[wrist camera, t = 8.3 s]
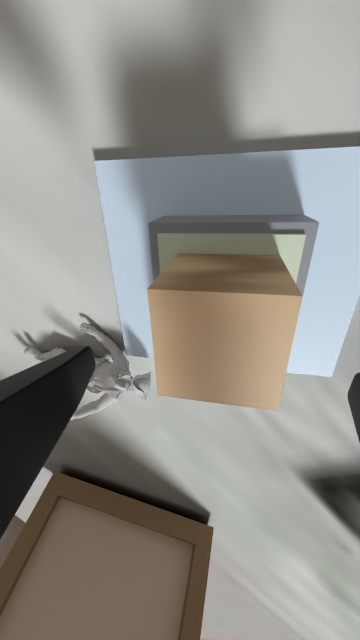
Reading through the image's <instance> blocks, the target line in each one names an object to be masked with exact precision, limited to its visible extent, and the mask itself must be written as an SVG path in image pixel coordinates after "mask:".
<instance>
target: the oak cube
mask: <svg viewBox="0 0 360 640" xmlns="http://www.w3.org/2000/svg"><path fill="white" fill-rule="evenodd" d="M147 293H148V303H149V312H150V322H151V332H152V341H153V351H154V361H155V370H156V380H157V390H158V395H160V396H167V397H175V398H182V399H190V400H198V401H205V402H213V403H221V404H228V405H236V406H243V407H251V408H259V409H266V410H274V411H278V407H279V403H280V398H281V394H282V389H283V384H284V380H285V375H286V371H287V366H288V362H289V357H290V352H291V348H292V343H293V339H294V334H295V329H296V325H297V320H298V316H299V311H300V306H301V302H302V297H303V296H302V294H301V292H300V290H299V289H298V287H297V285H296V283H295V281H294V280H293V278H292V276H291V274H290V272H289V271H288V269H287V267H286V265H285V263H284V262H283V260H282V258H281V256H280V255H244V254H182V253H178V254H177V255H176V256H175V257H174V258H173V259H172V261H171V262H170V263H169V264H168V265H167V266H166V268H165V269H164V270H163V271H162V272H161V273H160V275H159V276H158V277H157V278H156V279H155V280H154V282H153V283H152V284H151V285H150V286H149V287H148V289H147Z"/></svg>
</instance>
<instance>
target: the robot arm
mask: <svg viewBox="0 0 360 640" xmlns="http://www.w3.org/2000/svg"><path fill="white" fill-rule="evenodd" d="M95 367H96V363H95V358H94V354H93V350H92V348H91V347H90V346H85V345H79V346H77V347H75V348H72V349H70V350H68V351H66V352H63V353H61V354H59V355H57V356H55V357H52V358H50V359H48V360H46V361H43V362H41V363H39V364H37V365H34V366H32V367H30V368H28V369H25V370H23V371H21V372H19V373H17V374H14V375H12V376H10V377H8V378H5V379H3V380H1V381H0V539H1V537H2V535H3V534H4V532H5V530H6V529H7V527H8V525H9V523H10V521H11V520H12V518H13V517H14V515H15V513H16V511H17V510H18V508H19V506H20V505H21V503H22V501H23V499H24V498H25V496H26V494H27V493H28V491H29V489H30V488H31V486H32V484H33V482H34V481H35V479H36V477H37V476H38V474H39V472H40V470H41V469H42V467H43V465H44V464H45V462H46V460H47V458H48V457H49V455H50V453H51V452H52V450H53V448H54V446H55V445H56V443H57V441H58V440H59V438H60V436H61V434H62V433H63V431H64V429H65V428H66V426H67V424H68V423H69V421H70V419H71V417H72V416H73V414H74V412H75V411H76V409H77V407H78V405H79V403H80V401H81V399H82V397H83V395H84V393H85V390H86V388H87V386H88V384H89V382H90V379H91V377H92V375H93V373H94V371H95ZM348 401H349V405H350V409H351V412H352V416H353V420H354V424H355V427H356V431H357V435H358V438H359V442H360V373H357V374H356V375H355V376H354V378H353V381H352V383H351V386H350V388H349V391H348Z"/></svg>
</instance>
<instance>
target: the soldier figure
mask: <svg viewBox="0 0 360 640" xmlns="http://www.w3.org/2000/svg"><path fill="white" fill-rule="evenodd" d="M83 324H85V325H83ZM83 324H81V325H82V326H84V327H86V328H84V327H82V326H80V328H82V329H81V331H83V332H86V333H88V334H90V335H93V336H95V337H96V339H97V340H98V341H99V342H100V343H101V344H103V345H104V347H105V348H106V349H107V350H108V351H109V352H110V354H111V357H112V360H113V363H112V362H109V359H106V358H104V357H103V358H96V357H94V358H95V363H96V367H95V371H94V373H93V375H92V377H91V379H90V382H89V384H88V386H87V389H88V390H89V391H90V392H93V393H99V392H101V391H105V392H106V393H105V394H104V395H102V397H100V399H98V400H97V401H93V402H90V403H88V404H87V405H84V406H83V407H81V408H80V409H78V410H76V411H75V412H74V414H73V416H72V417H71V419H70V420H73V419H75V418H76V419H79V418H82V417H84V416H87V415H90V414H92V413H96V412H99V411H100V410H102V409H104V408H106V407H107V406H109V405H110V404H113V403H114V402H116V401H118V400H120V398H121V397H122V395H123V393H124V392H125V391H126V390H129V388H130V386H131V384H132V389H133V390H132V389H130V390H132V391H133V392H132V393H136V394H138V395H139V396H140V397H141V398H142V399H143V400H144V401H145V399H146V397H147V393H148V391H149V388H150V373H151V372H150V373H147V374H144V375H137V376H136V377H134V378H132V376H131V372H130V371H129V362H128V360H127V359H126V357H125V355H123V353H122V351H121V350H120V349H119V347H118V346H117V344H115V342H114V341H112V340H111V339H110V338H109V337H108V336H106V335H105V334H103V333H102V332H101V331H100V332H99V331H98V330H97V329H95V328H94V327H93V326H91V325H89V324H87V323H84V322H83ZM86 325H87V326H86ZM83 329H84V330H83ZM63 352H66V351H65V350H64V349H63V348H60V349H59V348H54V349H53V350H52V351H50V352H46V353H42V352H40V351H39V350H37V349H35V348H26V349H25V351H24V353H25V354H26V355H27V356H31V357H34V358H36V359H38V360H41V361H44V360H48V359H50V358H52V357H55V356H57V355H59V354H61V353H63ZM132 379H133V380H132ZM100 390H101V391H100Z"/></svg>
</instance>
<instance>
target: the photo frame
mask: <svg viewBox="0 0 360 640" xmlns="http://www.w3.org/2000/svg"><path fill="white" fill-rule="evenodd" d="M213 528H214V527H211V526H208V525H205V524H202V523H199V522H197V521H194V520H191V519H188V518H185V517H183V516H180V515H177V514H174V513H171V512H169V511H166V510H163V509H160V508H157V507H154V506H152V505H149V504H146V503H143V502H140V501H138V500H135V499H132V498H129V497H126V496H124V495H121V494H118V493H115V492H112V491H109V490H107V489H104V488H101V487H98V486H95V485H93V484H90V483H87V482H84V481H81V480H79V479H76V478H73V477H70V476H67V475H64V474H62V473H59V472H56V471H54V473H53V475H52V477H51V479H50V481H49V482H48V484H47V486H46V488H45V490H44V491H43V493H42V495H41V497H40V499H39V500H38V502H37V504H36V506H35V508H34V509H33V511H32V513H31V515H30V517H29V519H28V520H27V522H26V524H25V526H24V528H23V529H22V531H21V533H20V535H19V537H18V539H17V541H16V542H15V544H14V546H13V548H12V549H11V551H10V553H9V555H8V557H7V558H6V560H5V562H4V564H3V566H2V567H1V569H0V640H200V634H201V626H202V618H203V610H204V602H205V593H206V585H207V577H208V569H209V561H210V552H211V544H212V536H213Z"/></svg>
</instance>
